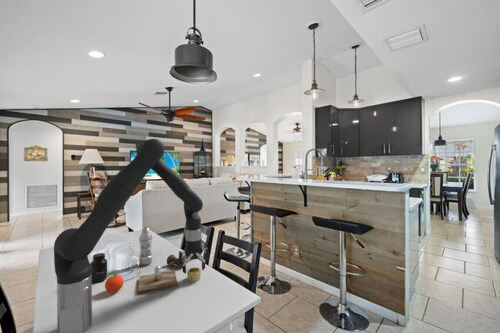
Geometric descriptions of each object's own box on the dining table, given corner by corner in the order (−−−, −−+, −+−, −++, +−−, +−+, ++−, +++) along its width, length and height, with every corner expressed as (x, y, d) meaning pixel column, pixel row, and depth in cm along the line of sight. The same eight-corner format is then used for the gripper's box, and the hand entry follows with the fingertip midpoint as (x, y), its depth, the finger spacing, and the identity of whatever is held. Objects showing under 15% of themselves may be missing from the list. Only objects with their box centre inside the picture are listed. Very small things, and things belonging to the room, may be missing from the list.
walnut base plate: (177, 287, 103) (177, 283, 103) (137, 294, 97) (137, 291, 97) (174, 273, 116) (174, 270, 116) (139, 279, 110) (139, 276, 110)
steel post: (161, 280, 106) (161, 266, 106) (154, 282, 105) (154, 267, 105) (161, 277, 109) (161, 264, 108) (154, 278, 107) (154, 265, 107)
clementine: (98, 295, 97) (98, 278, 97) (110, 286, 104) (110, 270, 104) (115, 296, 96) (115, 279, 96) (127, 287, 103) (127, 271, 102)
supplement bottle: (98, 284, 106) (98, 258, 105) (86, 282, 107) (86, 257, 107) (110, 276, 112) (110, 252, 112) (98, 275, 114) (98, 251, 113)
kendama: (200, 259, 134) (173, 273, 116) (187, 257, 138) (160, 269, 121) (200, 249, 134) (173, 261, 116) (187, 246, 138) (160, 258, 121)
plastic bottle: (139, 262, 128) (139, 227, 128) (152, 260, 131) (152, 225, 130) (138, 267, 122) (138, 230, 122) (152, 265, 125) (151, 228, 124)
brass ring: (201, 280, 109) (201, 271, 109) (188, 282, 107) (188, 274, 107) (199, 274, 115) (199, 266, 115) (186, 276, 112) (186, 268, 112)
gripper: (179, 242, 105) (179, 277, 105) (210, 238, 110) (210, 271, 110) (177, 237, 111) (177, 270, 112) (206, 233, 117) (207, 265, 117)
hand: (194, 271), depth 111 cm, fingers open, 8 cm apart
